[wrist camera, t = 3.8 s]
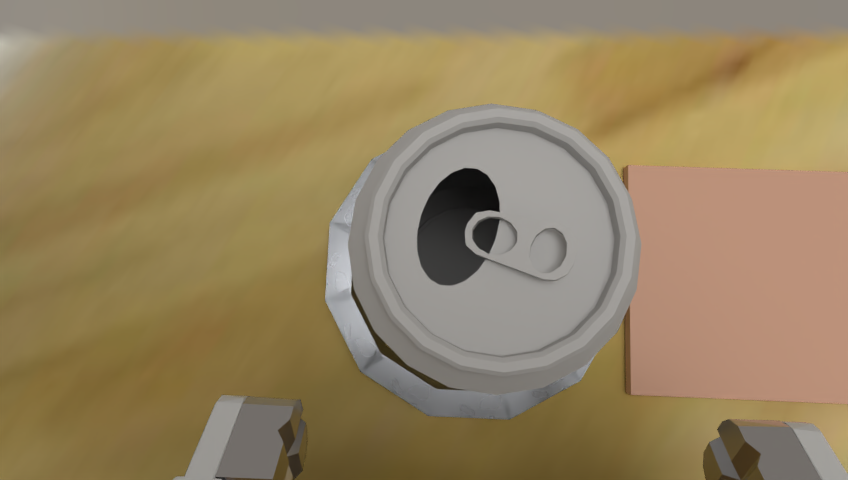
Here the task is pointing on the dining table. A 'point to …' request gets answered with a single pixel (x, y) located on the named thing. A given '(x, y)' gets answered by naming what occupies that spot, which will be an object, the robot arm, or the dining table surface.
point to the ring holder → (388, 364)
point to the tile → (739, 284)
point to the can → (494, 249)
